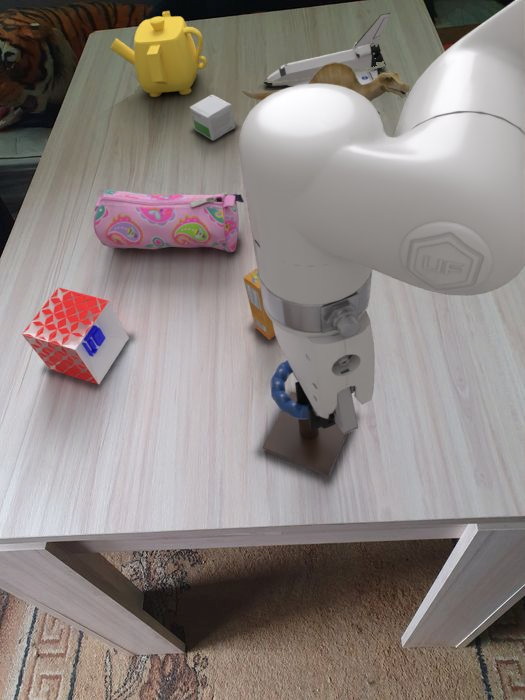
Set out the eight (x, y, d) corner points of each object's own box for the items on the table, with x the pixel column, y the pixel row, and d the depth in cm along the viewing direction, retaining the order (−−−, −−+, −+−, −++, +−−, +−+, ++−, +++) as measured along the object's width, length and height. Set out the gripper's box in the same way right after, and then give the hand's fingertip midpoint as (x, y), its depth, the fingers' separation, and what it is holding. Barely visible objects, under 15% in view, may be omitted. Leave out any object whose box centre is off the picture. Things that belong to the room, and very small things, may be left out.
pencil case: (248, 223, 83) (240, 174, 76) (238, 265, 78) (228, 217, 70) (121, 221, 87) (101, 174, 79) (103, 260, 81) (81, 215, 74)
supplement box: (271, 313, 72) (263, 261, 64) (287, 327, 70) (282, 276, 62) (252, 327, 71) (242, 275, 63) (268, 341, 69) (260, 291, 61)
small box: (194, 130, 100) (188, 106, 96) (217, 117, 101) (212, 92, 97) (212, 142, 97) (207, 117, 93) (236, 128, 99) (232, 103, 95)
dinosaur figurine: (402, 146, 90) (412, 68, 79) (250, 157, 93) (240, 83, 82) (397, 121, 95) (406, 44, 84) (252, 132, 97) (242, 59, 86)
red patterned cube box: (81, 324, 74) (58, 287, 68) (129, 337, 72) (109, 300, 66) (49, 370, 70) (21, 334, 64) (98, 385, 68) (74, 350, 61)
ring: (355, 373, 53) (355, 365, 52) (326, 432, 49) (326, 425, 48) (290, 350, 55) (289, 342, 54) (259, 405, 52) (257, 398, 51)
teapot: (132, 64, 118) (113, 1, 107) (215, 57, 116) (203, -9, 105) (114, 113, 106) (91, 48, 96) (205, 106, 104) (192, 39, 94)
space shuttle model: (260, 67, 111) (254, 16, 103) (376, 49, 110) (380, -5, 102) (268, 106, 102) (263, 53, 94) (395, 86, 101) (401, 31, 93)
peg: (354, 417, 61) (357, 382, 55) (328, 477, 58) (328, 446, 51) (291, 395, 64) (287, 358, 58) (263, 451, 60) (255, 418, 54)
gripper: (427, 345, 32) (396, 465, 47) (314, 197, 41) (318, 338, 56) (315, 392, 31) (320, 500, 46) (224, 229, 40) (253, 364, 55)
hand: (319, 410), depth 51 cm, fingers closed on ring
